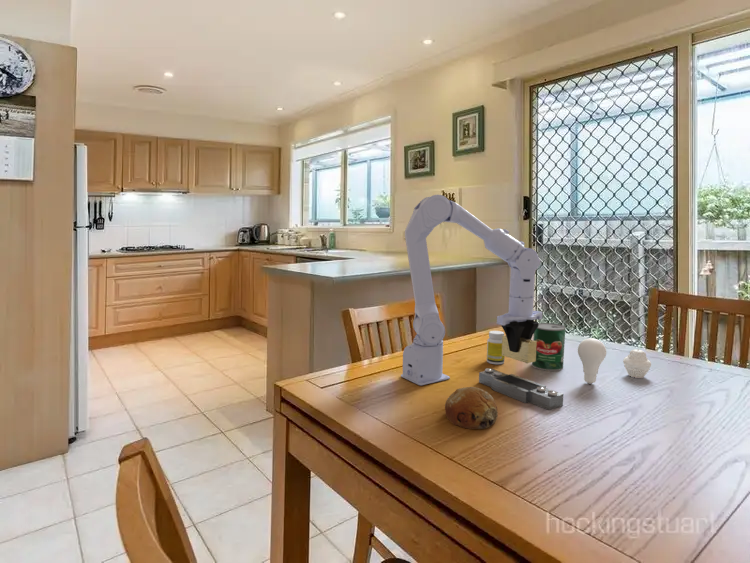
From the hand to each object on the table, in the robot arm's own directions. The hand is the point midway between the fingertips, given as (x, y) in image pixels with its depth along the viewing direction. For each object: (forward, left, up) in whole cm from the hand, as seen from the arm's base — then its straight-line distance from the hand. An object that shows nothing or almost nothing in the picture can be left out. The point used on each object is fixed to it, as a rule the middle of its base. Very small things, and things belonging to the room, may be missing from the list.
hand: (518, 350), depth 114 cm
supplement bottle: (+4, +11, -7) cm, 13 cm away
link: (0, 0, -2) cm, 2 cm away
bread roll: (-28, -12, -7) cm, 31 cm away
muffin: (+25, -16, -7) cm, 31 cm away
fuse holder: (-9, -8, -7) cm, 14 cm away
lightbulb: (+10, -13, -7) cm, 18 cm away
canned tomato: (+13, +1, -7) cm, 15 cm away
